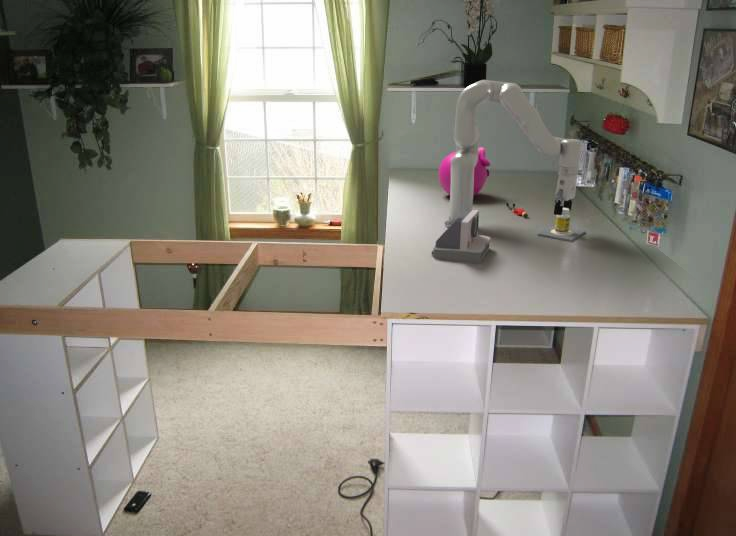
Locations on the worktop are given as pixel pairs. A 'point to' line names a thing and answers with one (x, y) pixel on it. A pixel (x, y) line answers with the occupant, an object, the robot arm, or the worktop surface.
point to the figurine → (479, 172)
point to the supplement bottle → (562, 222)
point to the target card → (568, 236)
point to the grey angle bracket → (462, 240)
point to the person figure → (518, 211)
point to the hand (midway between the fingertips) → (562, 212)
